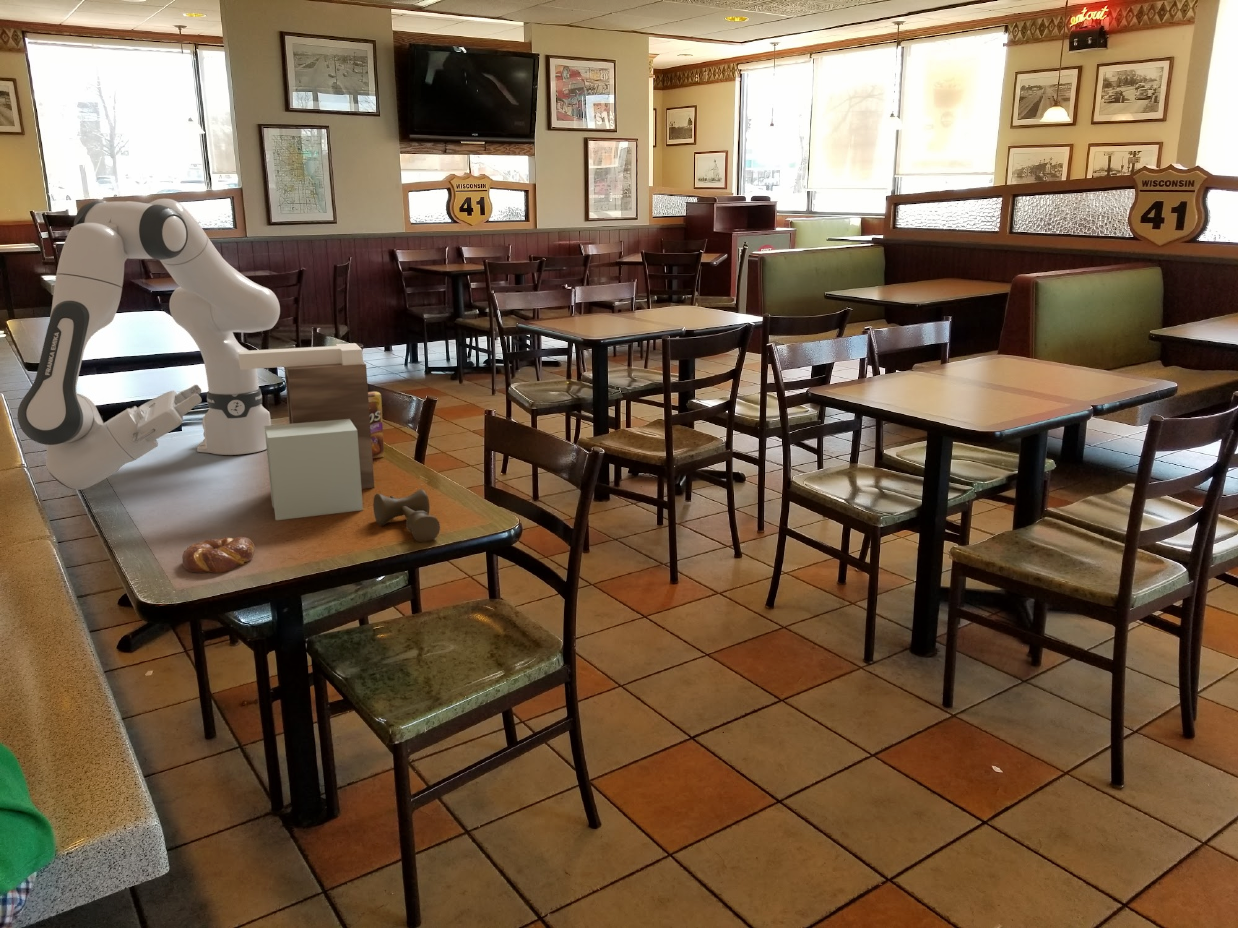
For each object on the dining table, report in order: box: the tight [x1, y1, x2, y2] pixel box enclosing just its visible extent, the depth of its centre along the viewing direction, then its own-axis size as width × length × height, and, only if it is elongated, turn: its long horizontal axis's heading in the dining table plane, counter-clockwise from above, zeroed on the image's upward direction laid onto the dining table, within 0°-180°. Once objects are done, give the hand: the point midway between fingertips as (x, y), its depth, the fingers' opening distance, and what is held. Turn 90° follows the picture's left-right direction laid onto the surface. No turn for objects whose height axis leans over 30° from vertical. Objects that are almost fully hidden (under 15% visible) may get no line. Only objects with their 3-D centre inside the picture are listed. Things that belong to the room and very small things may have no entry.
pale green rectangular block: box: [264, 419, 364, 521], centre depth 182 cm, size 10×16×16 cm, turn 113°
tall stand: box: [283, 361, 375, 490], centre depth 195 cm, size 10×15×26 cm, turn 113°
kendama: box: [372, 489, 441, 543], centre depth 174 cm, size 6×10×20 cm
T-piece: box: [238, 342, 364, 370], centre depth 189 cm, size 9×23×3 cm, turn 113°
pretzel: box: [181, 536, 256, 574], centre depth 157 cm, size 12×11×4 cm
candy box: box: [368, 390, 385, 459], centre depth 217 cm, size 9×4×15 cm, turn 123°
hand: (199, 392), depth 184 cm, fingers open, 8 cm apart
